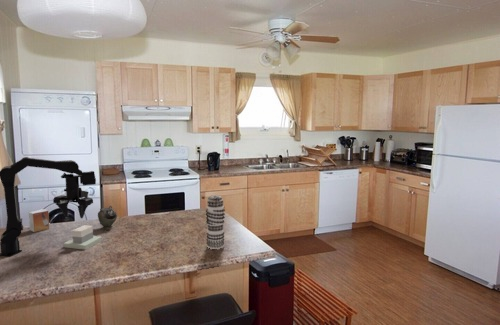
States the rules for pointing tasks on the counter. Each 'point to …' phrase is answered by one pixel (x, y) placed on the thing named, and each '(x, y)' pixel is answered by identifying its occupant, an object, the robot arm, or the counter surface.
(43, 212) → the small box
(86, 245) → the stand
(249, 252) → the counter surface
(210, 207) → the tower model
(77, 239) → the block
